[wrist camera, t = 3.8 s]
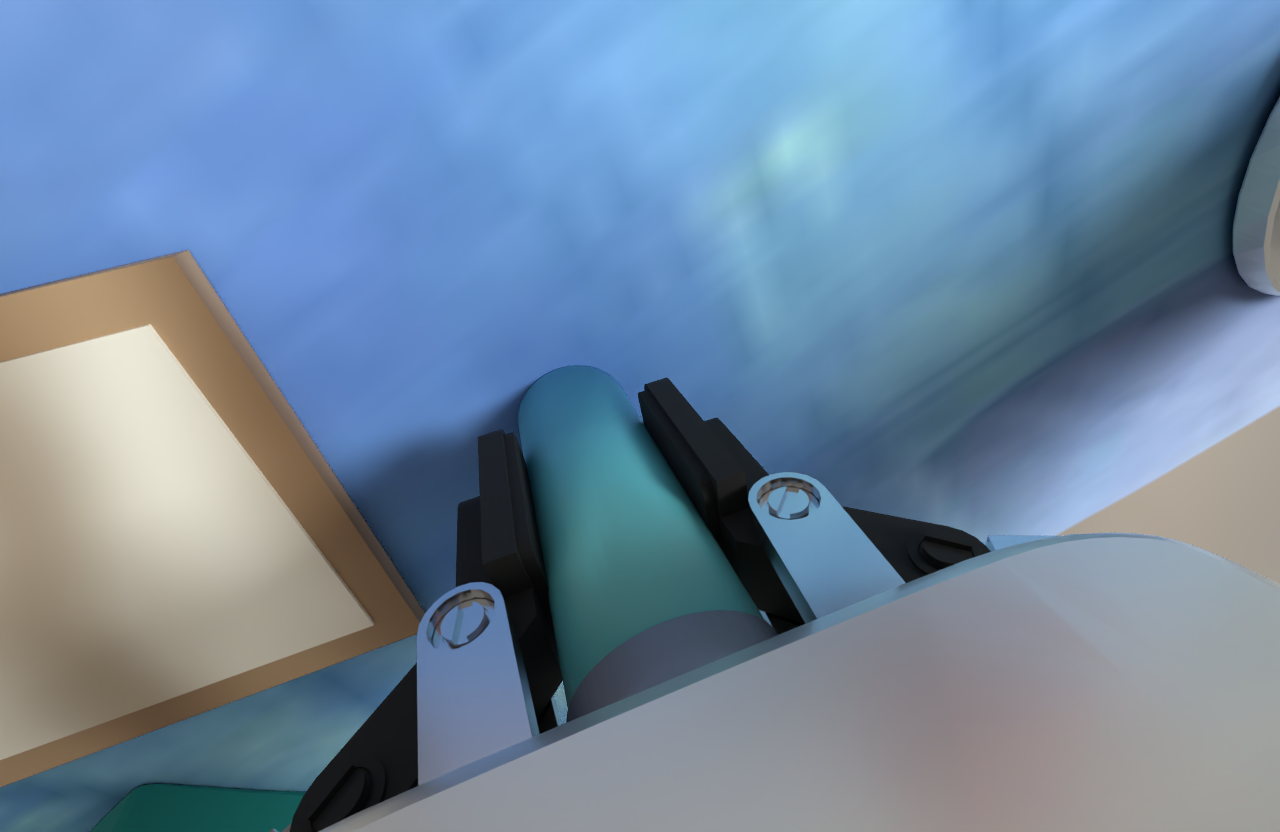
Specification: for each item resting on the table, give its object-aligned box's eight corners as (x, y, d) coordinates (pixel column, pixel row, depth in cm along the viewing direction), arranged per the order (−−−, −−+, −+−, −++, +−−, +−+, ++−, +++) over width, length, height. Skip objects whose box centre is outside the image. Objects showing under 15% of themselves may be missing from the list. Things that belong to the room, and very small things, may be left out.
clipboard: (188, 249, 9) (164, 259, 9) (426, 614, 15) (424, 639, 14) (-669, 451, 8) (-796, 485, 7) (-28, 779, 13) (-57, 817, 13)
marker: (617, 348, 13) (892, 738, 5) (639, 445, 15) (871, 861, 6) (499, 384, 12) (564, 889, 4) (535, 479, 14) (634, 981, 6)
